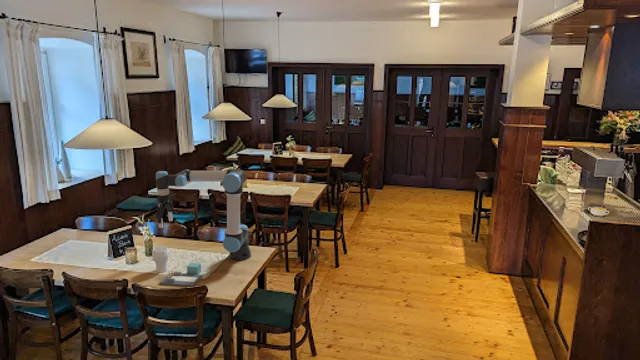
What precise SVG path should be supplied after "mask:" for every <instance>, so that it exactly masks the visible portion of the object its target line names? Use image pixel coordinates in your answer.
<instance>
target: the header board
mask: <svg viewBox="0 0 640 360" xmlns="http://www.w3.org/2000/svg"><path fill="white" fill-rule="evenodd" d="M202 277H203V274H199V275H195V274H187V273H182V271H174V270H173V269H172V270H171V272H169V273H167V274H166V275H165V277H163V278H162V279H161V280H160V281H159V282H158V284H159V285H162V286H163V285H164V286H177V287H178V286H179V287H188V288H193V287H194V286H195V285H197V283H198V282H199V281H200V280H201V279H202ZM192 286H193V287H192Z"/></svg>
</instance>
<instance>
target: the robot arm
mask: <svg viewBox="0 0 640 360" xmlns="http://www.w3.org/2000/svg"><path fill="white" fill-rule="evenodd" d="M155 181H156V191H157V192H156V194H157V200H158V201H159V203H156V205H157V206H156V207H157V208H156V213H155V214H156V215H155V219H157V223H158V224H157V225H158V228H159V229H163V228H164V224H163V223H164V221H163V220H164V219H163V215H164V210H165V209H166V210H167V211H168V212H167V214H168V216H167V217H168V222H173V220H174V218H173V213H174V210H175V209H174V206H173V203H172V199H171V198H170V187H178V188H179V187H185V186H186V185H187V182H189V183H191V182H195V183H196V182H199V183H200V182H208V183H211V182H213V183H214V182H217V183H218V182H222V188H223V189H224V194H226V229H225V230H224V238H223V241H222V247H223V248H224V249H225V250H226V251H227V252H229V258H230V259H231V260H234V261H244V260H247V259H250V258H251V257H252V251H251V249H250V245H249V229H248V226H247V225H246V224H243V223H242V224H241V195H242V194H243V192H244V191H243V190H244V189H243V186H244V184H245V183H246V182H247V174H246V173H245V171H244V170H242V169H239V168H227V169H226V170H190V169H183V170H181V171H180V172H178V173H176V174H169V173H168V171H165V170H159V171H157V172H156V173H155Z"/></svg>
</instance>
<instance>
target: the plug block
mask: <svg viewBox="0 0 640 360" xmlns="http://www.w3.org/2000/svg"><path fill="white" fill-rule="evenodd" d="M201 265H202V264H201V263H197V262H189V264H188V265H187V266H186V272H187V273H186V274H195V275H201V272H202V266H201Z"/></svg>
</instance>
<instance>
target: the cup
mask: <svg viewBox="0 0 640 360" xmlns="http://www.w3.org/2000/svg"><path fill="white" fill-rule="evenodd" d="M151 257H152V260H153V261H154V262H155V272H156V273H160V274H161V273H165V272H167V271H168V270H169V267H168V260H169V257H170V251H169V248H168V246H166V245H165V246H164V245H162V246H161V245H160V246H156V247H154V248H153V249H152V252H151Z"/></svg>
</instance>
